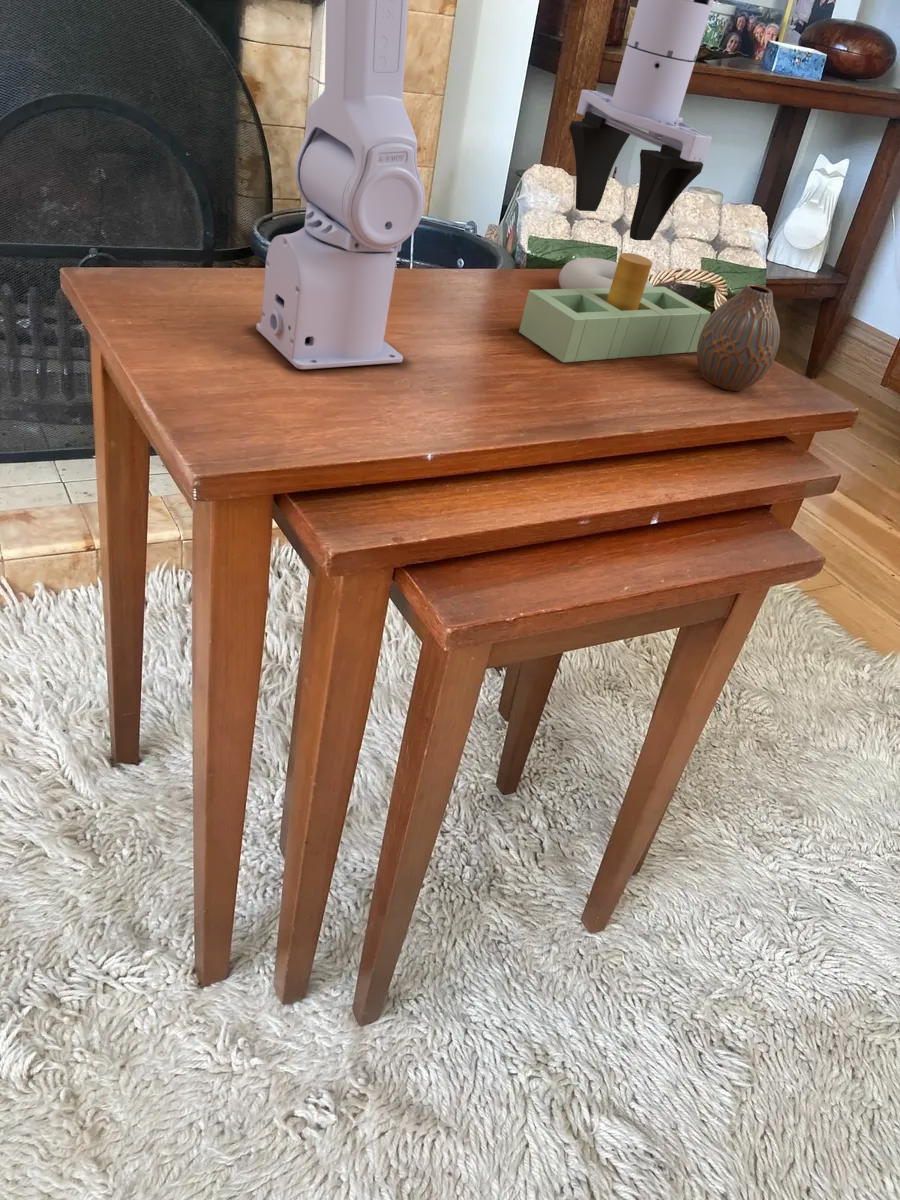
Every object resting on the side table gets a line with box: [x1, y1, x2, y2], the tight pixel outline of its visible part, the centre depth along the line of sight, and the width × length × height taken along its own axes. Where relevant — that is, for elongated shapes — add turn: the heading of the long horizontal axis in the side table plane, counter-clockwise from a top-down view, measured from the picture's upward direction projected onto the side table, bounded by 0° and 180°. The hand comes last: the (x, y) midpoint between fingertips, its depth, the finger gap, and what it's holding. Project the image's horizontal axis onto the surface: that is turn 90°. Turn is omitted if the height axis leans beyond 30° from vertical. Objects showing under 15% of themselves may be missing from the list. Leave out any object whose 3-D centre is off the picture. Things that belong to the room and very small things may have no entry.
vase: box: [696, 283, 781, 392], centre depth 87 cm, size 7×7×9 cm
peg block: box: [518, 286, 712, 364], centre depth 91 cm, size 17×7×4 cm, turn 123°
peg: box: [606, 252, 653, 311], centre depth 90 cm, size 3×3×8 cm
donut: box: [558, 257, 653, 289], centre depth 100 cm, size 10×4×10 cm
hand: (612, 224), depth 86 cm, fingers open, 7 cm apart
